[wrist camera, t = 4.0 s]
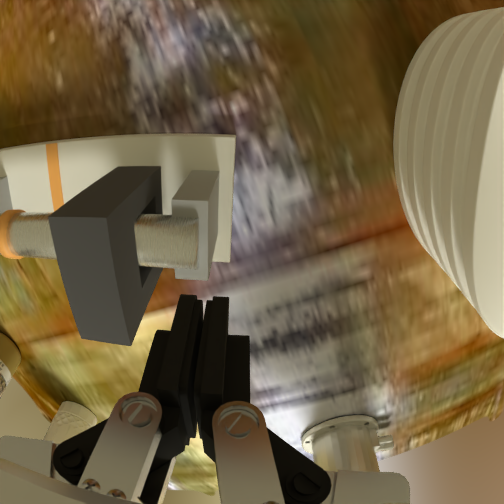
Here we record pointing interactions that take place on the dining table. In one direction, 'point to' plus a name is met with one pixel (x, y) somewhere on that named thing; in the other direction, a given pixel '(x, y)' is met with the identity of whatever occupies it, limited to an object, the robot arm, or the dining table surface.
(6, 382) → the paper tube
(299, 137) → the dining table surface
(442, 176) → the plate stack
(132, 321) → the collar
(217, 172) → the pipe stand
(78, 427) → the white cup
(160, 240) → the pipe
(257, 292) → the dining table surface
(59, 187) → the orange strap
